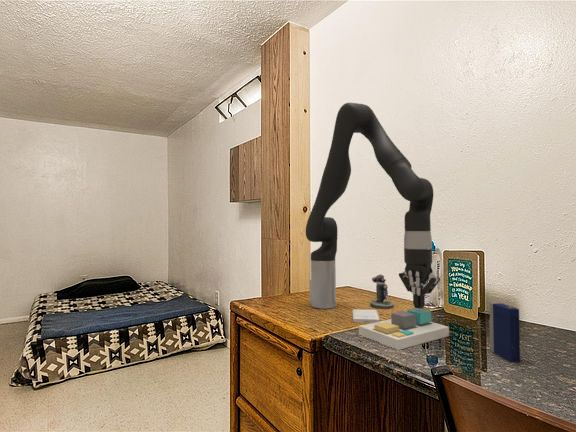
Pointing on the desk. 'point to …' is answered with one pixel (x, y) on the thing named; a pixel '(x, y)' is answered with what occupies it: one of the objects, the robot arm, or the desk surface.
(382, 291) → the figurine
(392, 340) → the keypad frame
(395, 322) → the key charcoal
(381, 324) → the key ochre
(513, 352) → the navy blue upright slab
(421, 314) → the key teal
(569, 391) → the desk surface
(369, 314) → the external hard drive
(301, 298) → the desk surface
